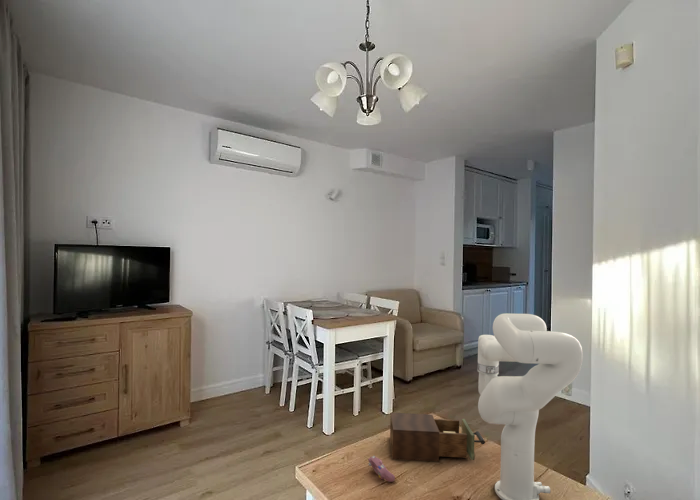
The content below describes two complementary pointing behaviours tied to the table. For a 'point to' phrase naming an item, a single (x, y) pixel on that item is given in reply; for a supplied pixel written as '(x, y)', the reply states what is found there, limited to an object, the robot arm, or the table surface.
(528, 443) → the robot arm
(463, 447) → the drawer
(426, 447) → the cabinet
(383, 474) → the pink rounded piece
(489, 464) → the table surface
